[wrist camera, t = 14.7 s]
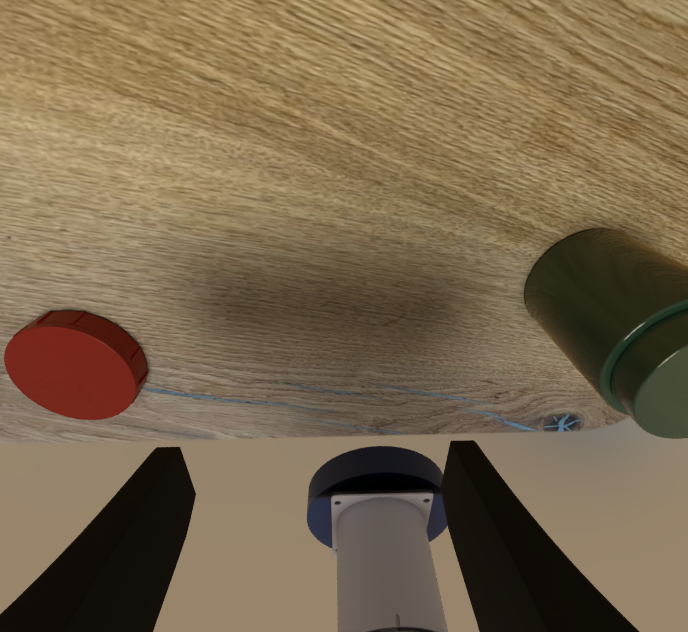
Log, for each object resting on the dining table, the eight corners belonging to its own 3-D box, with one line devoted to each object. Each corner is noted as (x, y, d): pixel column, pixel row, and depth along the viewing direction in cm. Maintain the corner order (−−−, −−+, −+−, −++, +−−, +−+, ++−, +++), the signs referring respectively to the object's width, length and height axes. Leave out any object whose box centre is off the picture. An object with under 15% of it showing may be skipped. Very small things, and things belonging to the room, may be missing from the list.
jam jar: (616, 326, 19) (752, 442, 13) (513, 330, 19) (600, 448, 13) (659, 226, 16) (856, 311, 10) (539, 230, 16) (664, 318, 10)
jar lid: (130, 310, 18) (116, 326, 17) (159, 400, 21) (148, 419, 20) (4, 309, 18) (-20, 326, 16) (51, 400, 21) (34, 420, 19)
